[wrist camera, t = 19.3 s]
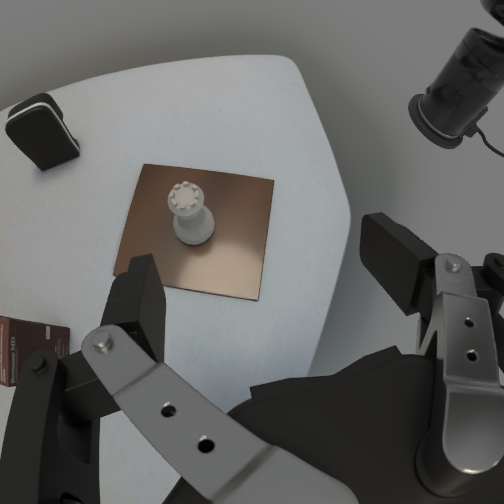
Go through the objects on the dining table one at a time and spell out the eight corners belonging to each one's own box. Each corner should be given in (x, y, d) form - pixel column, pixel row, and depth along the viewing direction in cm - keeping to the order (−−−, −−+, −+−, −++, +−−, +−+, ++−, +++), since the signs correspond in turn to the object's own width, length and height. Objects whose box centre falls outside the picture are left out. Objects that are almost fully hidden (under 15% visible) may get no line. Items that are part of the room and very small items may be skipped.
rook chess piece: (222, 233, 33) (219, 202, 25) (186, 253, 32) (172, 228, 24) (203, 200, 34) (195, 163, 26) (167, 219, 33) (150, 187, 25)
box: (72, 377, 28) (8, 389, 16) (42, 370, 28) (-24, 376, 16) (73, 326, 30) (8, 317, 18) (43, 321, 29) (-23, 310, 18)
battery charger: (81, 135, 36) (49, 83, 25) (81, 156, 35) (45, 104, 24) (42, 152, 35) (4, 107, 24) (40, 173, 34) (-2, 129, 23)
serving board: (273, 181, 36) (274, 179, 35) (257, 301, 32) (258, 300, 31) (144, 165, 35) (143, 163, 35) (114, 276, 31) (112, 275, 31)
